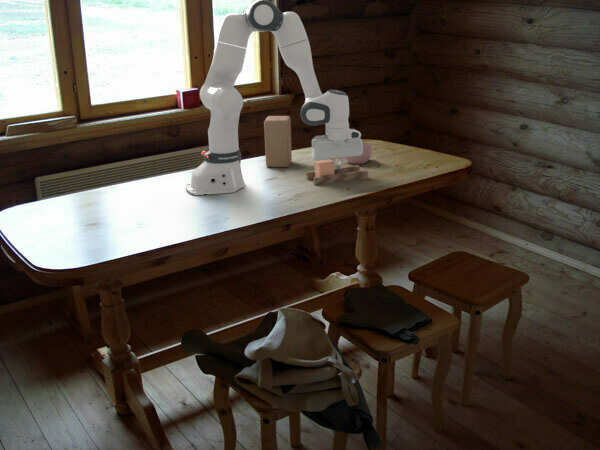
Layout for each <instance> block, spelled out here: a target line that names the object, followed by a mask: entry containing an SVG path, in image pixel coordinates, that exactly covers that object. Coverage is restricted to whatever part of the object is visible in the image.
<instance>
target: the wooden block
mask: <svg viewBox="0 0 600 450" xmlns="http://www.w3.org/2000/svg"><path fill="white" fill-rule="evenodd" d="M291 121H292V120H291V117H290V115H268V116H267V117H266V118H265V120H264V121H263V129H264V132H263V133H264V147H265V148H264V150H265V151H264V153H265V166H266V168H289V167H290V165H291V163H292V159H293V158H292V154H293V153H292V127H291V126H292V124H291V123H292V122H291Z"/></svg>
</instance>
